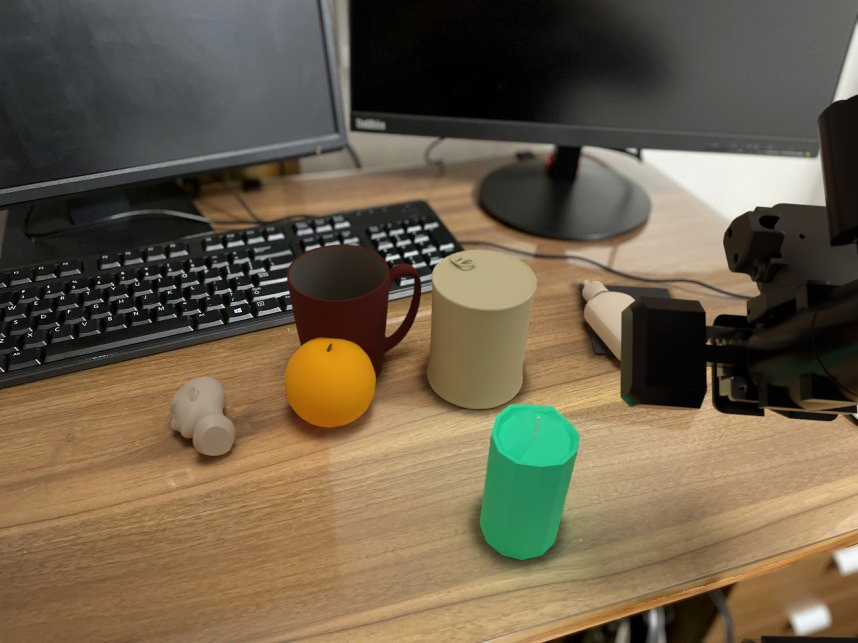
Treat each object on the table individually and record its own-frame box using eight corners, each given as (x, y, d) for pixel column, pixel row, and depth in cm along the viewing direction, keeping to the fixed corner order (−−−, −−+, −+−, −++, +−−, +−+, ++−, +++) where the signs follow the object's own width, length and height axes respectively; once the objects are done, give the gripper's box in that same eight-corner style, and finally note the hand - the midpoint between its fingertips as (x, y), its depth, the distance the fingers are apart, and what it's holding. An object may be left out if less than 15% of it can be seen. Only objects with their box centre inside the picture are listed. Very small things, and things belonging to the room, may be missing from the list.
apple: (271, 406, 61) (260, 342, 56) (340, 367, 65) (335, 305, 61) (324, 456, 56) (317, 392, 52) (394, 411, 61) (394, 348, 56)
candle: (562, 561, 49) (592, 454, 42) (481, 558, 49) (496, 451, 42) (551, 494, 54) (576, 387, 47) (477, 492, 54) (490, 384, 47)
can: (474, 333, 70) (483, 233, 62) (542, 378, 65) (560, 276, 57) (407, 372, 65) (408, 269, 57) (475, 425, 60) (486, 319, 52)
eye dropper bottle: (626, 377, 67) (568, 308, 76) (675, 348, 67) (611, 282, 76) (617, 352, 64) (558, 282, 73) (668, 321, 64) (602, 256, 73)
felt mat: (693, 359, 68) (694, 357, 67) (594, 354, 68) (595, 352, 68) (666, 290, 77) (667, 288, 77) (579, 286, 77) (579, 284, 77)
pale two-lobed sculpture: (179, 415, 61) (230, 388, 62) (191, 479, 55) (247, 449, 56) (154, 385, 58) (208, 358, 59) (163, 450, 52) (223, 419, 53)
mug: (405, 324, 70) (406, 234, 64) (432, 380, 64) (436, 285, 57) (291, 345, 67) (279, 252, 60) (307, 406, 61) (296, 309, 54)
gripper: (1050, 193, 33) (849, 280, 48) (672, 164, 33) (591, 260, 48) (1080, 421, 31) (859, 436, 46) (673, 390, 31) (588, 415, 46)
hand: (723, 381), depth 46 cm, fingers closed
